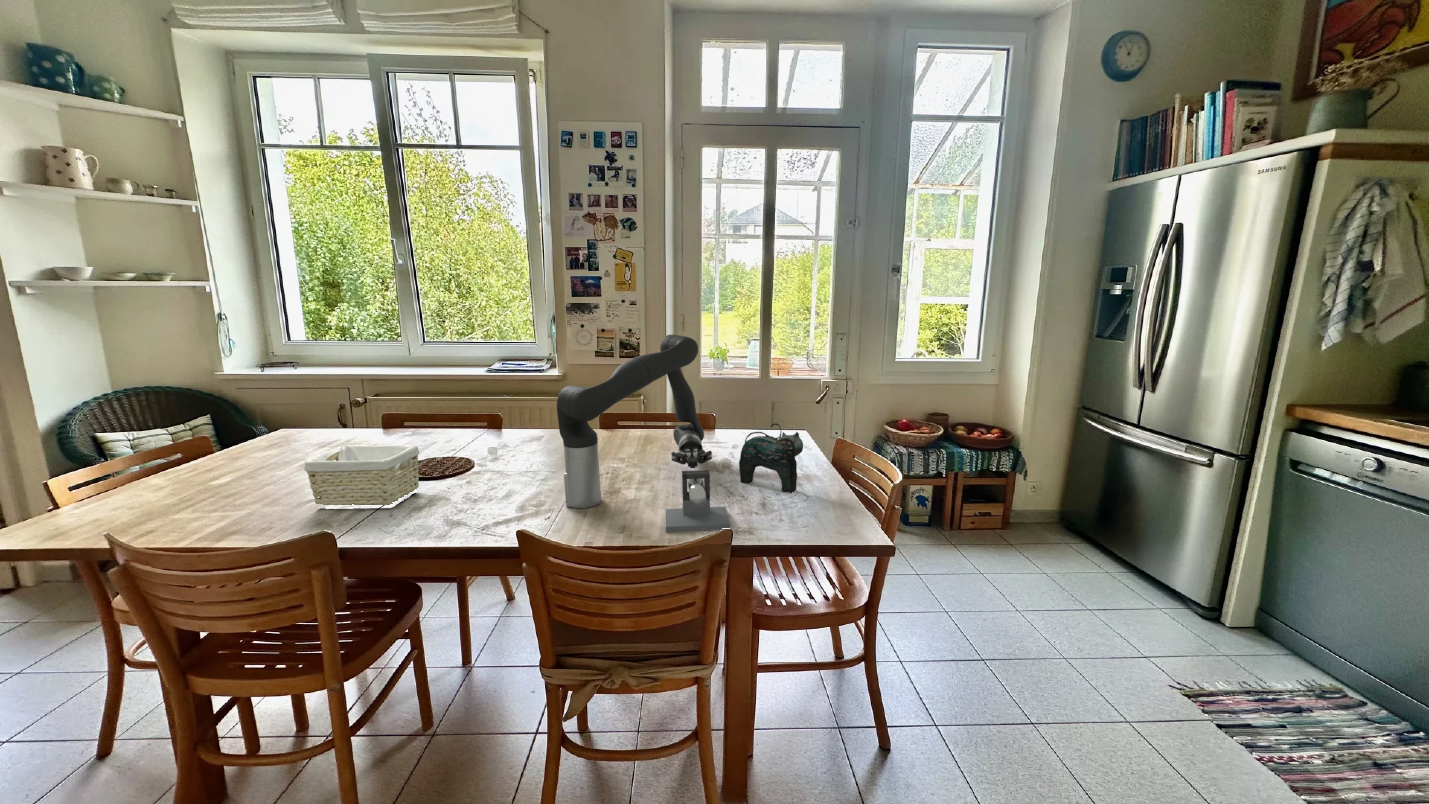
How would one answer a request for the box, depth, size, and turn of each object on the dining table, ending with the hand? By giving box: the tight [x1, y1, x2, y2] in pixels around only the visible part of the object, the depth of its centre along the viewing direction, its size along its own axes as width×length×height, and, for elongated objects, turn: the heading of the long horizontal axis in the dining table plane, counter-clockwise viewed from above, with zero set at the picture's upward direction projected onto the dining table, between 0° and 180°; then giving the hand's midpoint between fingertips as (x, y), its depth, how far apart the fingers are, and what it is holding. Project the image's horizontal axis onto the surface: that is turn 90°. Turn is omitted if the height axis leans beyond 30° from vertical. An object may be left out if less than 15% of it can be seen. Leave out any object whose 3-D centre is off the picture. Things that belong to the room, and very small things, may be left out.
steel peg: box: [687, 479, 706, 507], centre depth 136 cm, size 4×11×4 cm, turn 5°
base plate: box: [665, 499, 731, 533], centre depth 139 cm, size 16×11×6 cm
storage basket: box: [303, 444, 420, 505], centre depth 154 cm, size 24×16×15 cm
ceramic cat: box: [738, 422, 804, 494], centre depth 161 cm, size 20×6×20 cm, turn 56°
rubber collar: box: [681, 469, 711, 502], centre depth 140 cm, size 7×3×7 cm, turn 95°
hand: (692, 464), depth 156 cm, fingers closed
